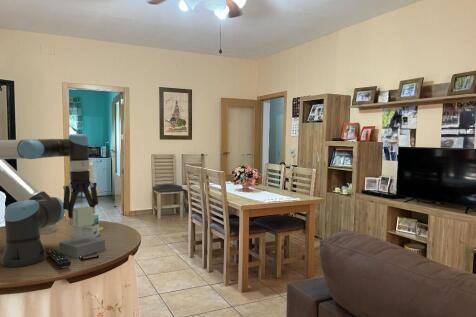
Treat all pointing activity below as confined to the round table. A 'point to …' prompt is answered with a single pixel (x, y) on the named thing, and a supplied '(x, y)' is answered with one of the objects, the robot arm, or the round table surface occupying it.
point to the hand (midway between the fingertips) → (81, 223)
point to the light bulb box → (87, 229)
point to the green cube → (83, 216)
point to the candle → (91, 170)
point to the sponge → (48, 229)
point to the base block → (81, 246)
